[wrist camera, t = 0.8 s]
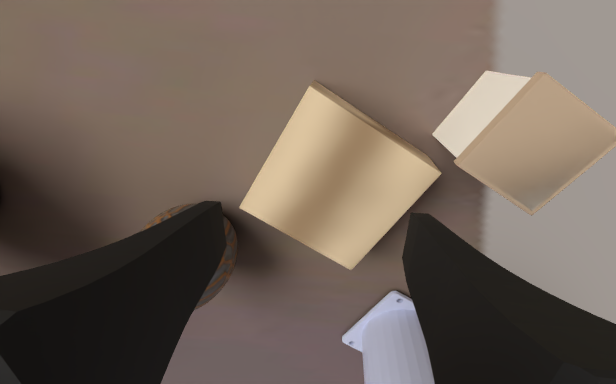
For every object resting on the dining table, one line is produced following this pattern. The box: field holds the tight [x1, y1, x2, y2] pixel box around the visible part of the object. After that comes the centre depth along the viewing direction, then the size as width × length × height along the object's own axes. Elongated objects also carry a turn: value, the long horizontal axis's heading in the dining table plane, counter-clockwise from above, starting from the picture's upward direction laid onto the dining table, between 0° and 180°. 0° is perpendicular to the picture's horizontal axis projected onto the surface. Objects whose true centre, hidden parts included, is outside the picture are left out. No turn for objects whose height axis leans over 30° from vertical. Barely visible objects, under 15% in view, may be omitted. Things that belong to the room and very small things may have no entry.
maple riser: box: [239, 80, 441, 270], centre depth 19 cm, size 9×9×3 cm
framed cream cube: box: [432, 71, 616, 215], centre depth 16 cm, size 5×5×6 cm
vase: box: [140, 204, 238, 310], centre depth 20 cm, size 7×7×9 cm
